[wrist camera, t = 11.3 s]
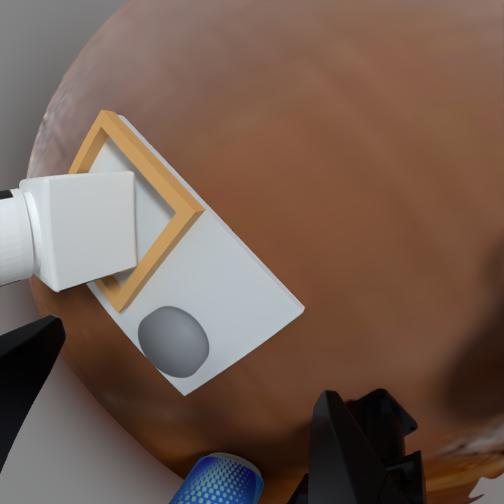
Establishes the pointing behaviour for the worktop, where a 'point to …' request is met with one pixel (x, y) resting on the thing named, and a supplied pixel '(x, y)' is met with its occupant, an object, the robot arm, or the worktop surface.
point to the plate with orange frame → (182, 268)
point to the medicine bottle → (68, 228)
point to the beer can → (221, 481)
